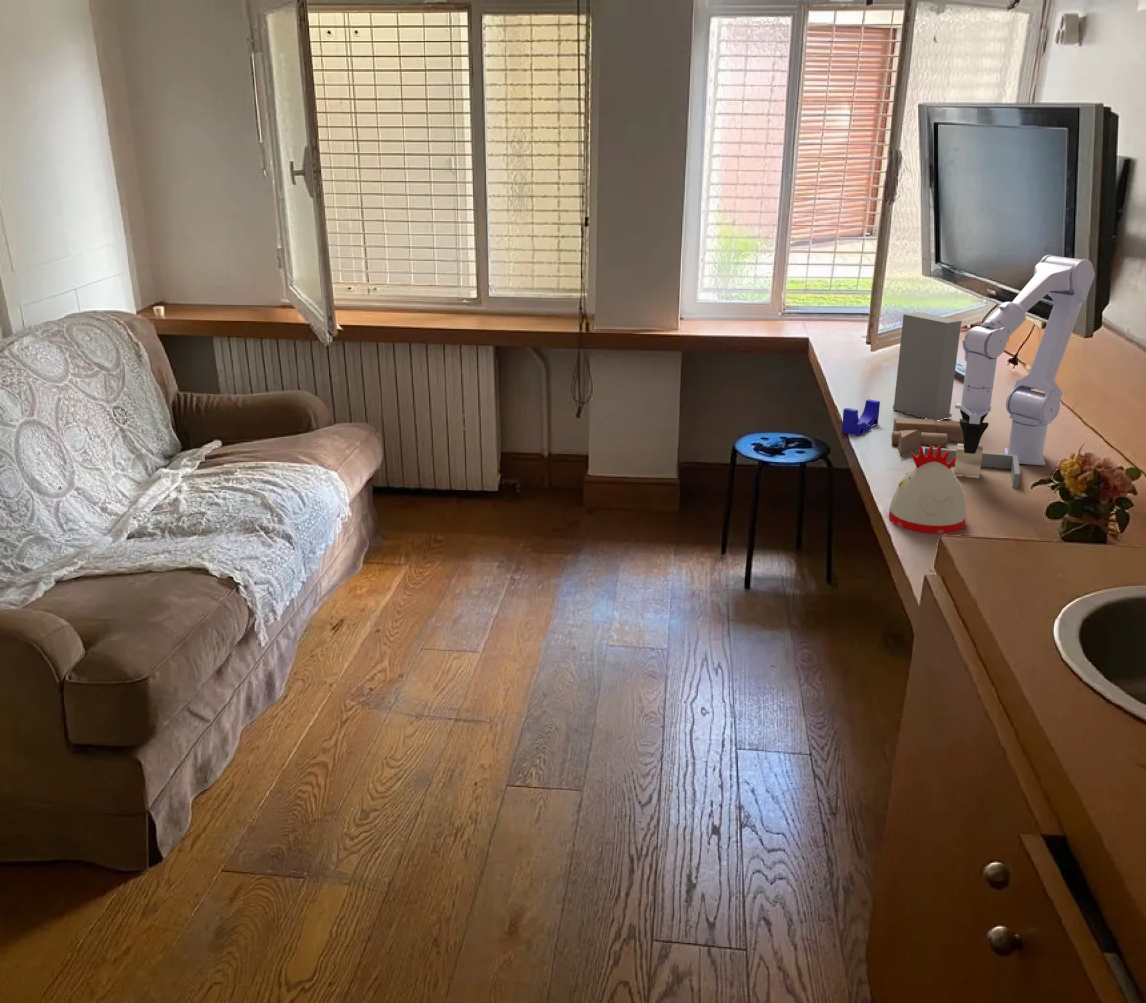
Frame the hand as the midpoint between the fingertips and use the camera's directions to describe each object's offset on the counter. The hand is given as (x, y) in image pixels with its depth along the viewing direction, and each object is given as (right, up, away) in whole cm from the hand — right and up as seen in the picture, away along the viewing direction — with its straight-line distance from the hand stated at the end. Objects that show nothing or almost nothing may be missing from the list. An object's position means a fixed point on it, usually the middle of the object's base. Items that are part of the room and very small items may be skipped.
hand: (969, 447), depth 217 cm
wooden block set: (-1, +1, +20) cm, 20 cm away
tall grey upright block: (+5, +10, +44) cm, 46 cm away
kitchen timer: (-17, -15, -22) cm, 31 cm away
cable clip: (-13, +6, +34) cm, 37 cm away
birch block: (0, -6, +2) cm, 6 cm away
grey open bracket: (0, -6, +2) cm, 6 cm away
